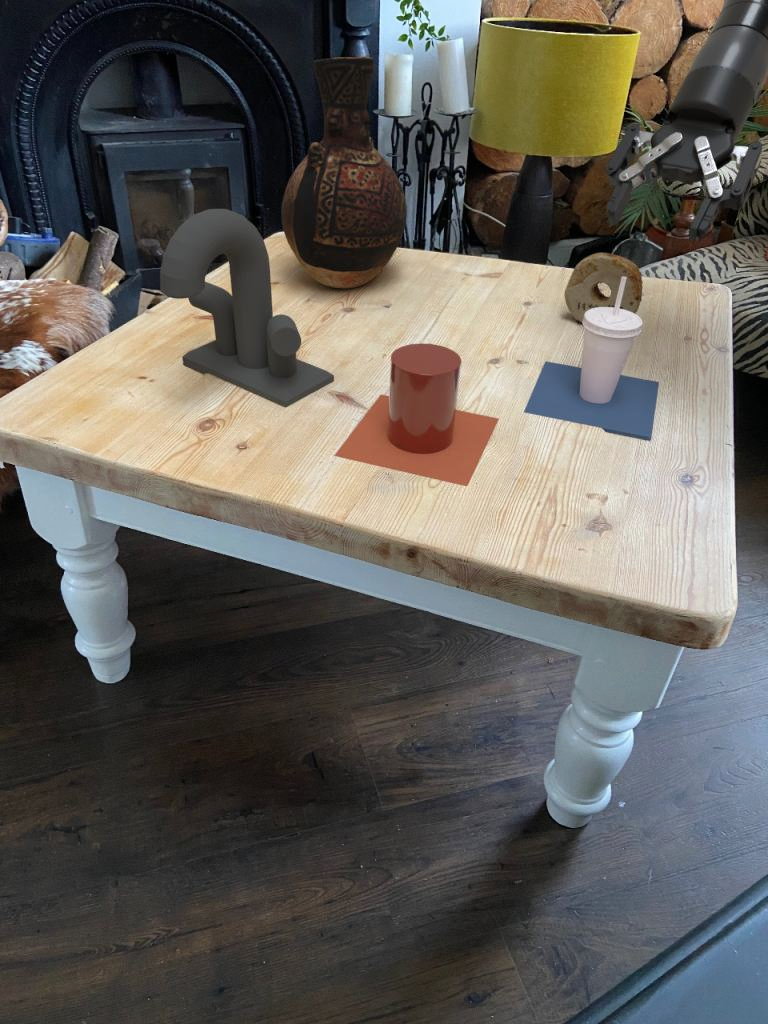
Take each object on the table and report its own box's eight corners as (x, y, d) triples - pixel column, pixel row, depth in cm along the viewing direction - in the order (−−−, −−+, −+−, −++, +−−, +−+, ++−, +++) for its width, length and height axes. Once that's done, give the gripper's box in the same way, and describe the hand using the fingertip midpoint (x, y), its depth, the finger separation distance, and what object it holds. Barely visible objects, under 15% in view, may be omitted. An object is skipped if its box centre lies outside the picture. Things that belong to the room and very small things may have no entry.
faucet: (130, 385, 87) (95, 206, 74) (230, 341, 97) (213, 177, 84) (239, 438, 78) (220, 246, 66) (336, 384, 88) (335, 209, 76)
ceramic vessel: (354, 314, 105) (356, 69, 87) (257, 287, 112) (240, 55, 94) (426, 272, 119) (441, 55, 101) (337, 250, 126) (335, 43, 108)
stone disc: (637, 330, 104) (655, 259, 98) (627, 339, 102) (645, 266, 95) (568, 311, 109) (582, 242, 103) (557, 319, 106) (570, 249, 100)
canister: (438, 415, 83) (445, 340, 77) (463, 448, 77) (472, 370, 72) (378, 424, 81) (381, 347, 75) (400, 458, 75) (404, 378, 70)
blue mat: (544, 363, 95) (545, 361, 94) (658, 384, 91) (658, 381, 91) (523, 415, 84) (523, 411, 84) (650, 440, 81) (651, 437, 80)
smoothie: (630, 392, 88) (661, 277, 80) (612, 415, 84) (643, 294, 75) (579, 378, 91) (603, 264, 82) (559, 398, 87) (583, 280, 78)
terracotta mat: (380, 397, 86) (380, 394, 86) (498, 421, 83) (499, 418, 83) (334, 458, 76) (333, 455, 75) (466, 489, 72) (467, 486, 72)
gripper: (649, 55, 77) (581, 193, 76) (795, 70, 70) (721, 221, 70) (655, 108, 83) (592, 235, 83) (788, 125, 77) (721, 264, 76)
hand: (651, 228), depth 76 cm, fingers open, 8 cm apart
